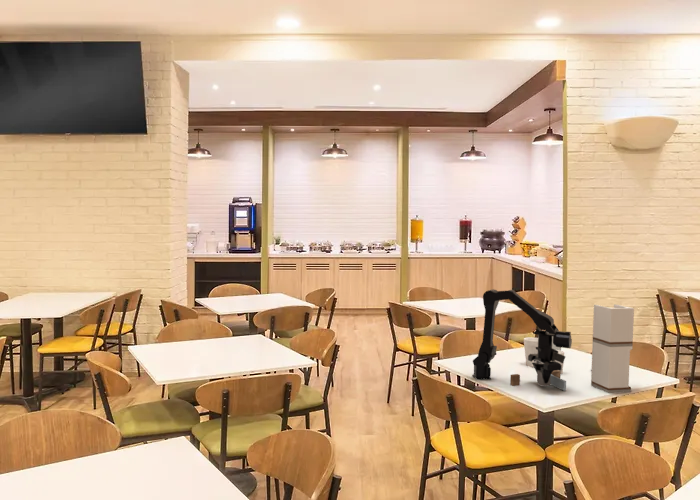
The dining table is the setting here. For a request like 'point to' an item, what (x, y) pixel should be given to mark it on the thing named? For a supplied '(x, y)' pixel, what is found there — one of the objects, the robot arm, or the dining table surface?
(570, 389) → the dining table surface
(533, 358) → the robot arm
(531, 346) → the foam cup
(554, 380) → the door
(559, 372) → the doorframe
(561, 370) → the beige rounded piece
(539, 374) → the block
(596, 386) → the striped white pillar
